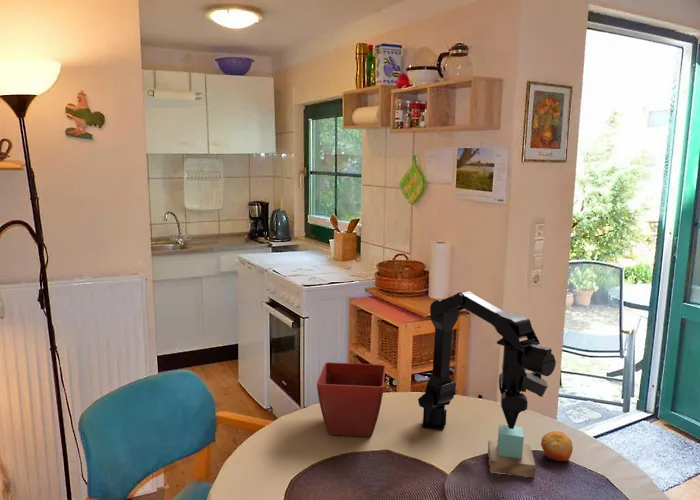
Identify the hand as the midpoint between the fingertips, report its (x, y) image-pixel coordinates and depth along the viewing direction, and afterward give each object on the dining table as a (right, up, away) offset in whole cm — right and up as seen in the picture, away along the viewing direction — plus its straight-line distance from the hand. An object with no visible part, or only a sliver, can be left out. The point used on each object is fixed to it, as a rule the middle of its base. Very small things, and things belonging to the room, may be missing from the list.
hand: (510, 420), depth 148 cm
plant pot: (-42, -8, +21) cm, 48 cm away
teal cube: (0, -8, 0) cm, 8 cm away
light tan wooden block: (0, -12, +1) cm, 12 cm away
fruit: (+14, -12, +5) cm, 19 cm away
